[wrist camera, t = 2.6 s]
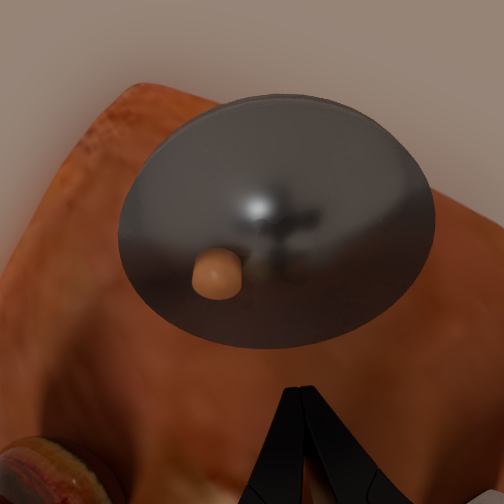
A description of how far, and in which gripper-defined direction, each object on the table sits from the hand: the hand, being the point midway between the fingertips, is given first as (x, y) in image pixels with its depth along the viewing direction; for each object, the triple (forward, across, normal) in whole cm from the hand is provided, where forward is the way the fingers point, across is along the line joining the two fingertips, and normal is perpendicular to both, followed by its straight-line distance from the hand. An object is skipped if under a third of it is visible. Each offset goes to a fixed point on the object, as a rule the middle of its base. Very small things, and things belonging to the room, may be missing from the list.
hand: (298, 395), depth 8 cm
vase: (+2, +17, +18) cm, 25 cm away
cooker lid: (+6, 0, -2) cm, 6 cm away
